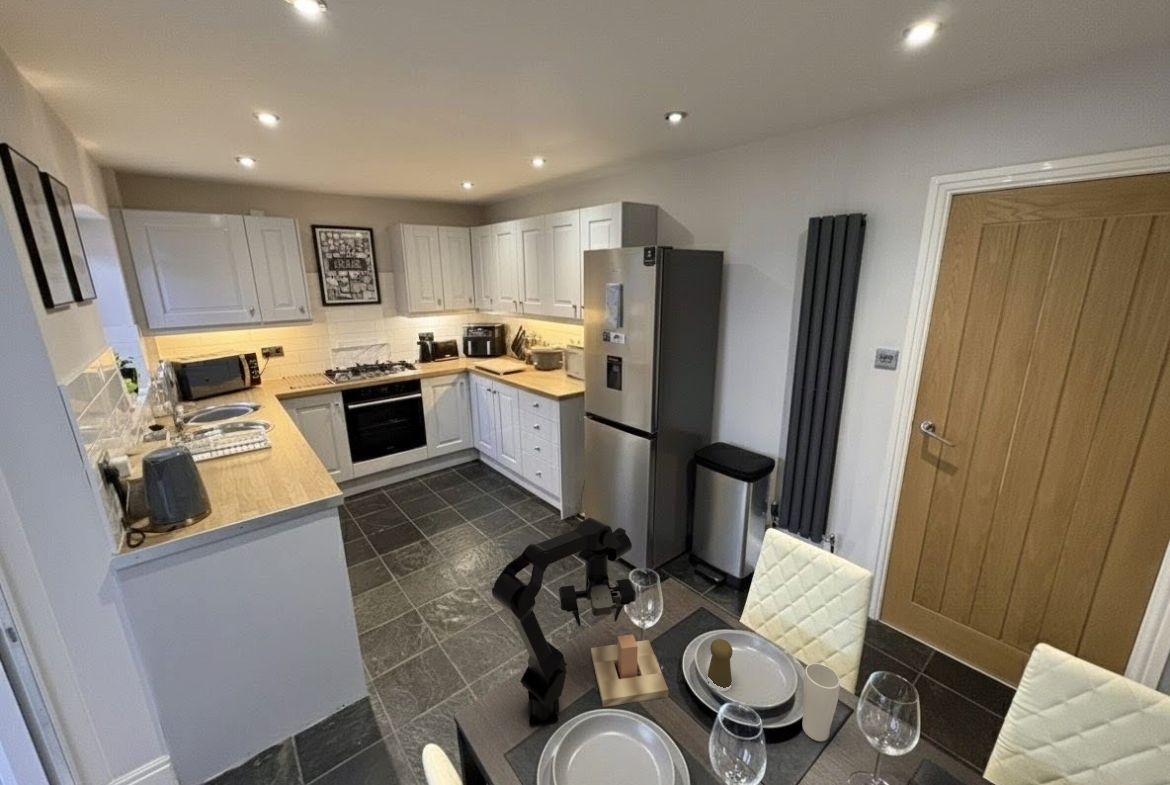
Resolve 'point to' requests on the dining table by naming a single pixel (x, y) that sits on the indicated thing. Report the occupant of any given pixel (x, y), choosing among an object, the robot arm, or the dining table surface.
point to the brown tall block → (627, 656)
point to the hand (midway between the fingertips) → (597, 622)
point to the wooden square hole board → (628, 688)
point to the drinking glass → (819, 700)
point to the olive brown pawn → (720, 663)
